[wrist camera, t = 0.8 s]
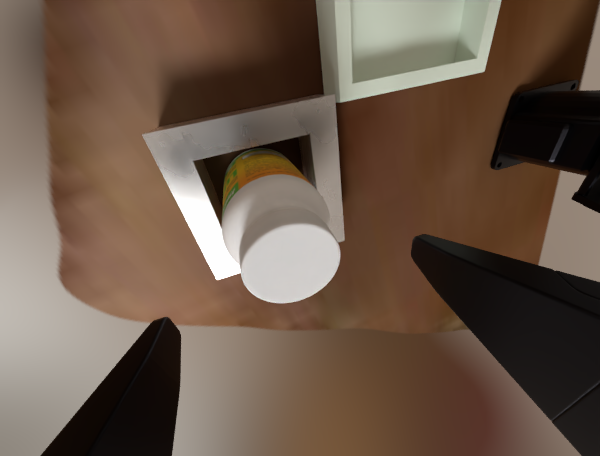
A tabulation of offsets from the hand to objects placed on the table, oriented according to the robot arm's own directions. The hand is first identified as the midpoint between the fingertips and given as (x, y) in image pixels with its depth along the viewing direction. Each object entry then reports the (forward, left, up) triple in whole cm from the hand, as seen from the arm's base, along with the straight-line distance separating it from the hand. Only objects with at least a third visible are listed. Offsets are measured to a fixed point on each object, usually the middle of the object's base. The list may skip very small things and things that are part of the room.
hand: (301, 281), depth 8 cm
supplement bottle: (0, 0, -11) cm, 11 cm away
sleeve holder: (0, 0, -11) cm, 11 cm away
